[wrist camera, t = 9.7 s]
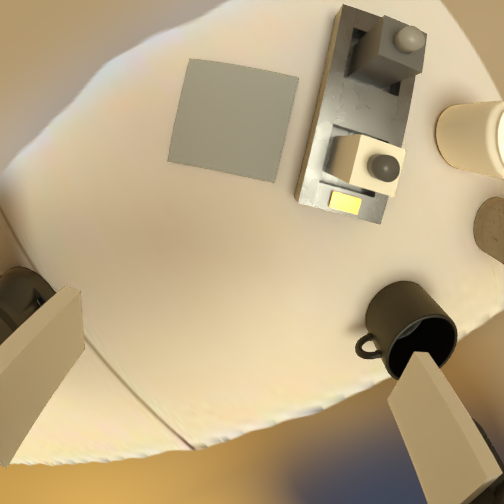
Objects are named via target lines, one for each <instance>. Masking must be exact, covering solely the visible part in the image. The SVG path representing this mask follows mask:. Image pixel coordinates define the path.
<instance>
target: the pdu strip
mask: <svg viewBox="0 0 504 504" xmlns="http://www.w3.org/2000/svg"><path fill="white" fill-rule="evenodd" d="M380 19H381V17H379V16H376V15H373V14H371V13H368V12H365V11H362V10H359V9H356V8H353V7H350V6H347V5H344V4H343V5H342V7H341V8H340V10H339V12H338V13H337V15H336V17H335V21H334V25H333V30H332V35H331V40H330V45H329V49H328V54H327V59H326V63H325V68H324V72H323V77H322V81H321V86H320V90H319V95H318V99H317V104H316V108H315V112H314V117H313V121H312V125H311V130H310V134H309V138H308V142H307V147H306V151H305V155H304V159H303V163H302V167H301V171H300V176H299V180H298V184H297V188H296V192H295V196H294V197H295V199H296V201H297V202H298V203H299V204H303V205H307V206H312V207H316V208H320V209H324V210H328V211H331V212H335V213H339V214H343V215H347V216H351V217H354V218H358V219H362V220H366V221H369V222H373V223H377V224H381V220H382V217H383V214H384V210H385V207H386V203H387V200H388V195H385V194H381V193H378V192H375V191H372V190H368V189H365V188H361V187H358V186H355V185H351V184H348V183H346V182H344V181H342V180H340V179H338V178H336V177H334V176H332V175H330V174H328V173H326V172H325V171H326V167H327V163H328V159H329V155H330V151H331V147H332V143H333V138H334V136H346V135H360V134H361V135H365V136H368V137H371V138H374V139H377V140H380V141H382V142H385V143H388V144H391V145H394V146H396V147H399V148H401V146H402V142H403V137H404V133H405V128H406V123H407V119H408V114H409V109H410V104H411V98H412V93H413V87H414V81H415V75H414V76H412V77H409V78H407V79H404V80H402V81H399V82H397V83H394V84H392V85H389V86H387V87H385V88H382V89H381V88H378V87H375V86H372V85H369V84H367V83H364V82H361V81H358V80H355V79H352V78H349V77H348V72H349V67H350V62H351V57H352V52H353V47H354V45H355V44H356V43H357V42H358V41H359V40H360V39H361V38H362V37H363V36H364V35H365V34H366V33H367V32H368V31H369V30H370V29H371V28H372V27H373V26H374V25H375V24H376V23H377V22H378V21H379V20H380Z"/></svg>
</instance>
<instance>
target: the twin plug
mask: <svg viewBox="0 0 504 504" xmlns="http://www.w3.org/2000/svg"><path fill="white" fill-rule="evenodd" d="M426 38H427V34H426V33H424V32H422V31H420V30H419V29H418V28H416V27H414V26H409V25H407V24H405V23H402V22H400V21H398V20H395V19H393V18H390V17H388V16H385V15H384V16H383V17H382V18H381V19H380V20H379V21H378V22H377V23H376V24H375V25H374V26H373V27H372V28H371V29H370V30H369V31H368V32H367V33H366V34H365V35H364V36H363V37H362V38H361V39H360V40H359V41H358V42H357V43H356V44H355V45H354V47H353V52H352V57H351V62H350V67H349V72H348V77H349V78H352V79H355V80H358V81H361V82H364V83H367V84H369V85H372V86H375V87H378V88H381V89H382V88H385V87H387V86H389V85H392V84H394V83H397V82H399V81H402V80H404V79H407V78H409V77H412V76H414V75H417V74H420V73H422V68H423V61H424V54H425V46H426Z"/></svg>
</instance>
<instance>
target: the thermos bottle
mask: <svg viewBox="0 0 504 504" xmlns="http://www.w3.org/2000/svg"><path fill="white" fill-rule="evenodd" d="M474 237H475V241H476V244H477V245H478V247H479V248H480V249H481V250H482V251H484V252H485V253H487V254H488V255H490V256H492V257H493V258H495V259H496V260H498V261H499V262H501V263H503V264H504V199H502V198H499V197H494V198H490V199H489V200H487V201H486V202H485V203H483V205H482V206H481V207H480V209H479V211H478V213H477V215H476V218H475V222H474Z"/></svg>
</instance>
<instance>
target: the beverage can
mask: <svg viewBox="0 0 504 504" xmlns="http://www.w3.org/2000/svg"><path fill="white" fill-rule="evenodd" d="M436 139H437V144H438V147H439V150H440V152H441V154H442V156H443V157H444V159H445V160H446V161H447V162H448V163H449V164H450V165H451V166H453V167H455V168H457V169H460V170H465V171H469V172H474V173H478V174H482V175H487V176H491V177H495V178H499V179H502V180H504V101H492V102H481V103H471V104H461V105H454V106H450V107H448V108H447V109H446V110H444V111H443V113H442V114H441V116H440V117H439V120H438V123H437V128H436Z"/></svg>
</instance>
